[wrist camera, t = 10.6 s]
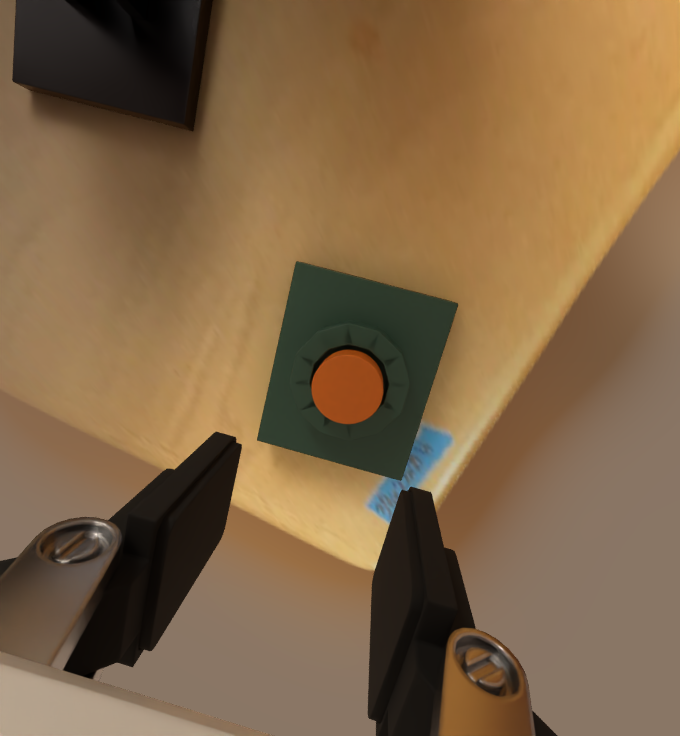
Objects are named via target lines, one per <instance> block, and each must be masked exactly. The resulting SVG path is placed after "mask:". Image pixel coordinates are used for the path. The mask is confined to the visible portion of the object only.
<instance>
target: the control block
mask: <svg viewBox="0 0 680 736" xmlns="http://www.w3.org/2000/svg"><path fill="white" fill-rule="evenodd" d="M457 307H458V303H455V302H452V301H449V300H445V299H441V298H437V297H434V296H430V295H426V294H422V293H418V292H414V291H411V290H407V289H403V288H399V287H395V286H392V285H388V284H384V283H380V282H376V281H372V280H369V279H365V278H361V277H357V276H353V275H350V274H346V273H342V272H338V271H334V270H330V269H327V268H323V267H319V266H315V265H311V264H308V263H304V262H298V261H296V264H295V269H294V273H293V278H292V282H291V287H290V291H289V296H288V301H287V305H286V310H285V314H284V319H283V323H282V328H281V332H280V337H279V342H278V346H277V351H276V355H275V360H274V364H273V369H272V374H271V378H270V383H269V387H268V392H267V396H266V401H265V406H264V410H263V415H262V419H261V424H260V428H259V433H258V438H257V440H258V441H261V442H265V443H268V444H272V445H276V446H279V447H283V448H286V449H290V450H293V451H297V452H300V453H304V454H307V455H311V456H315V457H318V458H322V459H325V460H329V461H332V462H336V463H339V464H343V465H346V466H350V467H354V468H357V469H361V470H364V471H368V472H371V473H375V474H378V475H382V476H385V477H389V478H393V479H396V480H400V481H401V480H402V477H403V474H404V471H405V468H406V465H407V462H408V459H409V456H410V453H411V450H412V446H413V443H414V440H415V437H416V434H417V431H418V428H419V425H420V422H421V419H422V415H423V412H424V409H425V406H426V403H427V400H428V397H429V394H430V391H431V388H432V384H433V381H434V378H435V375H436V372H437V369H438V366H439V363H440V360H441V357H442V353H443V350H444V347H445V344H446V341H447V338H448V335H449V332H450V329H451V326H452V322H453V319H454V316H455V313H456V310H457ZM341 350H357V351H360V352H363V353H365V354H367V355H368V356H370V357H371V358H372V359H373V360H374V361H375V362H376V363H377V365H378V366H379V368H380V370H381V373H382V376H383V397H382V401H381V404H380V406H379V407H378V409H377V410H376V412H375V413H374V414H373V415H372V416H370V417H369V418H368V419H366V420H364V421H362V422H359V423H355V424H342V423H337V422H334V421H332V420H330V419H329V418H327V417H326V416H324V415H323V414H322V413H321V412H320V411H319V409H318V408H317V406H316V405H315V403H314V400H313V397H312V391H311V387H312V380H313V377H314V375H315V373H316V371H317V369H318V368H319V366H320V365H321V364H322V362H323V361H324V360H325V359H326V358H327V357H328V356H330V355H331V354H333V353H335V352H337V351H341Z"/></svg>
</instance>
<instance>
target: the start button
mask: <svg viewBox="0 0 680 736" xmlns="http://www.w3.org/2000/svg"><path fill="white" fill-rule="evenodd" d="M311 391H312V397H313V400H314V403H315V405H316V406H317V408H318V409H319V411H320V412H321V413H322V414H323V415H324V416H326V417H327V418H329V419H330V420H332V421H334V422H337V423H342V424H355V423H359V422H362V421H364V420H366V419H368V418H369V417H370V416H372V415H373V414H374V413H375V412H376V410H377V409H378V407H379V406H380V404H381V401H382V397H383V376H382V373H381V370H380V368H379V366H378V365H377V363H376V362H375V361H374V360H373V359H372V358H371V357H370V356H368V355H367V354H365V353H363V352H360V351H357V350H341V351H337V352H335V353H333V354H331V355H330V356H328V357H327V358H326V359H325V360H324V361H323V362H322V364H321V365H320V366H319V368H318V369H317V371H316V373H315V375H314V377H313V380H312V387H311Z"/></svg>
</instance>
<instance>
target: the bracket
mask: <svg viewBox="0 0 680 736" xmlns="http://www.w3.org/2000/svg"><path fill="white" fill-rule="evenodd" d="M212 1H213V0H16V15H15V36H14V57H13V78H12V80H13V82H15V83H17V84H18V85H20V86H22V87H24V88H26V89H28V90H30V91H34V92H38V93H42V94H46V95H50V96H54V97H58V98H62V99H66V100H70V101H74V102H78V103H82V104H86V105H89V106H93V107H97V108H101V109H105V110H109V111H113V112H117V113H121V114H125V115H129V116H133V117H137V118H141V119H145V120H149V121H153V122H157V123H161V124H165V125H169V126H173V127H177V128H181V129H185V130H189V131H193V130H194V124H195V117H196V110H197V103H198V97H199V90H200V83H201V76H202V69H203V63H204V56H205V49H206V42H207V35H208V29H209V22H210V15H211V8H212Z"/></svg>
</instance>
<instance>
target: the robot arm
mask: <svg viewBox="0 0 680 736" xmlns="http://www.w3.org/2000/svg"><path fill="white" fill-rule="evenodd" d="M241 449H242V445H241V444H239V443H236V437H233V436H230V435H226V434H223V433H219V432H215V433H214V434H213V435H211V436H210V437H209V438H208V439H207V440H206V441H205V442H204V443H203V444H202V445H201V446H200V447H199V448H198V449H196V450H195V451H194V452H193V453H192V454H191V455H190V456H189V457H188V458H187V459H186V460H185V461H184V462H182V463H181V464H180V465H179V466H178V467H177V468H176V469H175V470H173V469H166V470H164V471H163V472H162V473H161V474H160V475H159V476H157V477H156V478H155V479H154V480H153V481H152V482H151V483H150V484H148V485H147V486H146V487H145V488H144V489H143V490H142V491H141V492H139V493H138V494H137V495H136V496H135V497H134V498H133V499H132V500H130V501H129V502H128V503H127V504H126V505H125V506H124V507H123V508H121V509H120V510H119V511H118V512H117V513H116V514H115V515H114V516H112V517H111V518H110V519H109V520H104V519H100V518H94V517H80V518H73V519H68V520H65V521H61V522H58V523H56V524H54V525H52V526H50V527H48V528H46V529H44V530H43V531H42V532H41V533H40V534H39V535H37V536H36V537H35V538H34V539H33V540H32V542H31V543H30V544H29V545H28V546H27V547H26V548H25V549H24V551H23V552H22V553H21V554H20V555H19V556H18V557H17V558H12V559H8V560H3V561H0V736H273V735H269V734H266V733H263V732H260V731H257V730H253V729H250V728H247V727H244V726H241V725H238V724H234V723H231V722H228V721H225V720H221V719H218V718H215V717H212V716H209V715H205V714H202V713H199V712H196V711H193V710H189V709H186V708H183V707H180V706H177V705H173V704H170V703H167V702H164V701H161V700H157V699H154V698H151V697H148V696H145V695H141V694H138V693H135V692H132V691H128V690H125V689H122V688H118V687H115V686H112V685H109V684H105V683H102V682H99V680H100V678H101V675H102V671H103V668H104V667H107V666H109V665H111V664H114V663H121V664H124V665H127V666H130V667H133V666H134V664H135V663H136V661H137V660H138V658H139V657H140V655H141V653H142V652H143V650H148V651H152V650H153V649H154V647H155V646H156V644H157V643H158V641H159V639H160V638H161V636H162V635H163V633H164V631H165V630H166V628H167V626H168V625H169V623H170V622H171V620H172V618H173V617H174V615H175V613H176V612H177V610H178V608H179V607H180V605H181V604H182V602H183V600H184V599H185V597H186V595H187V594H188V592H189V590H190V589H191V587H192V586H193V584H194V582H195V581H196V579H197V578H198V576H199V574H200V573H201V571H202V569H203V568H204V566H205V564H206V563H207V561H208V560H209V558H210V556H211V555H212V553H213V551H214V550H215V548H216V546H217V545H218V543H219V541H220V540H221V538H222V535H223V532H224V529H225V525H226V520H227V515H228V511H229V506H230V501H231V497H232V492H233V487H234V482H235V478H236V473H237V468H238V463H239V459H240V454H241ZM371 599H372V600H371V629H370V659H369V660H370V661H369V691H368V718H369V719H372V720H375V721H376V736H557V735H556V734H555V733H554V732H553V731H552V730H551V729H550V728H549V727H548V726H547V725H546V724H545V723H544V722H543V721H542V720H541V719H540V718H539V717H538V716H537V715H536V714H535V713H534V712H533V711H532V706H531V699H530V692H529V685H528V681H527V678H526V674H525V671H524V670H523V668H522V666H521V664H520V663H519V661H518V659H517V658H516V657H515V656H514V655H513V654H512V652H511V651H510V650H509V649H508V648H507V647H506V646H504V645H503V644H502V643H501V642H500V641H499V640H497V639H496V638H494V637H492V636H491V635H489V634H487V633H485V632H483V631H479V630H477V629H476V628H475V624H474V620H473V617H472V613H471V609H470V605H469V602H468V598H467V594H466V590H465V587H464V583H463V579H462V575H461V572H460V568H459V564H458V560H457V556H456V554H455V551H453V550H451V549H448V548H444V545H443V541H442V537H441V532H440V528H439V524H438V519H437V515H436V511H435V506H434V502H433V497H432V494H431V492H428V491H425V490H421V489H418V488H414V487H410V488H409V490H408V491H405V490H401V492H400V495H399V498H398V501H397V504H396V507H395V510H394V513H393V516H392V519H391V522H390V525H389V528H388V532H387V535H386V538H385V541H384V544H383V547H382V550H381V553H380V556H379V559H378V562H377V565H376V569H375V572H374V576H373V581H372V598H371Z"/></svg>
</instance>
